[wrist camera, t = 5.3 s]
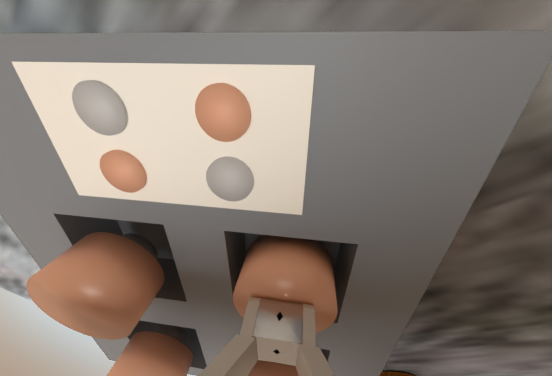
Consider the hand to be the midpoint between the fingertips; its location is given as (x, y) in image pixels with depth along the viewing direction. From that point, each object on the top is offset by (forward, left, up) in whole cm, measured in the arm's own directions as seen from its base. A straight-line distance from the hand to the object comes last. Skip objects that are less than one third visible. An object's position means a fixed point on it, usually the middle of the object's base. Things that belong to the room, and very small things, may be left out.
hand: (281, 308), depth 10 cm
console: (+4, +1, -5) cm, 7 cm away
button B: (+9, 0, -2) cm, 9 cm away
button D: (+9, +9, -2) cm, 13 cm away
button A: (0, 0, -4) cm, 4 cm away
